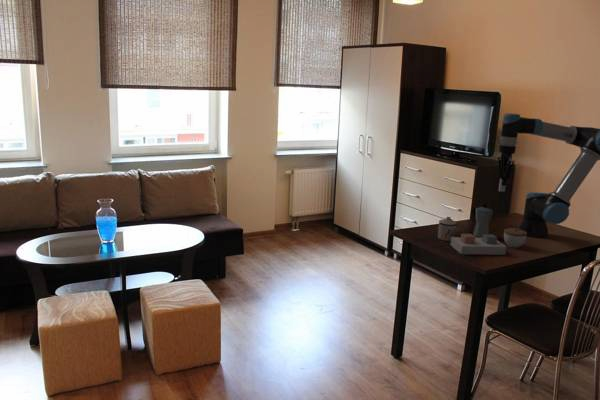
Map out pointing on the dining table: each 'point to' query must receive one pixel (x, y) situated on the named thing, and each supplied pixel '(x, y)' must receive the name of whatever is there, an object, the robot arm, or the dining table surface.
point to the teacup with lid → (447, 229)
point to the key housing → (478, 247)
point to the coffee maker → (482, 220)
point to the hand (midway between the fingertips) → (501, 191)
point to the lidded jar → (514, 237)
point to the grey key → (489, 239)
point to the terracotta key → (468, 238)
